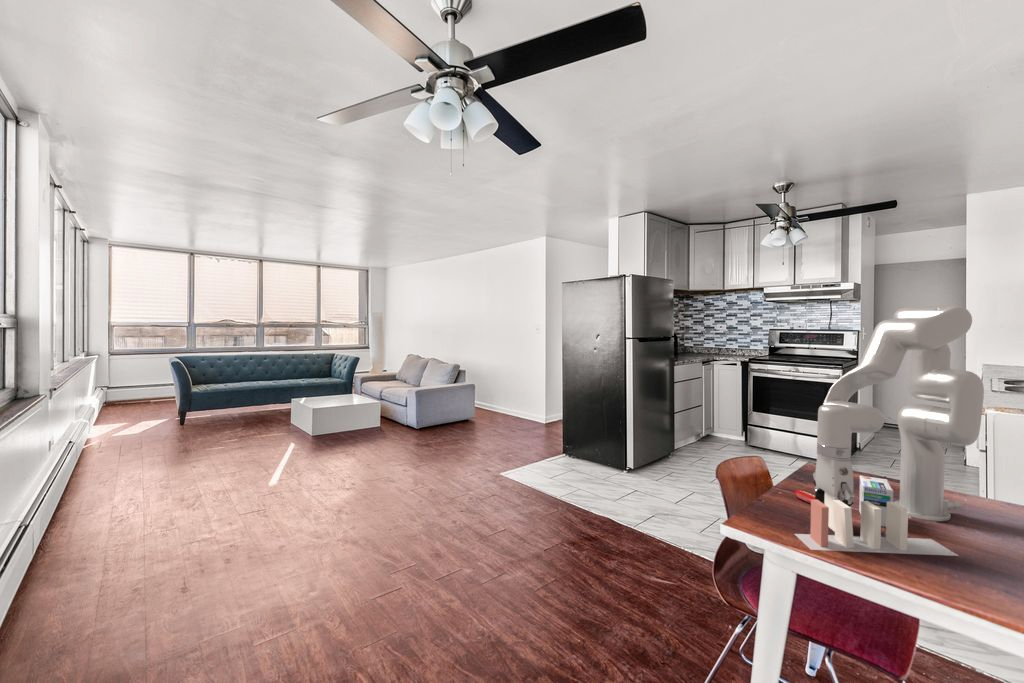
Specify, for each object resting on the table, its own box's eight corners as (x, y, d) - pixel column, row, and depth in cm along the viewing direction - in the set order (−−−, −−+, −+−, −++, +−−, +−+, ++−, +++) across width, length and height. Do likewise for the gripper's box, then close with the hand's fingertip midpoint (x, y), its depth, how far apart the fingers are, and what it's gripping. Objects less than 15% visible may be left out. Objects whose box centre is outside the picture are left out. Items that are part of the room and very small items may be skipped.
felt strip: (931, 540, 118) (931, 538, 118) (959, 557, 109) (959, 555, 109) (793, 535, 122) (793, 533, 122) (810, 551, 113) (810, 549, 113)
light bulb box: (893, 530, 124) (894, 490, 123) (862, 524, 127) (863, 486, 127) (887, 515, 133) (888, 478, 132) (858, 510, 137) (858, 474, 136)
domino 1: (816, 537, 119) (817, 499, 119) (827, 547, 114) (828, 507, 114) (810, 537, 119) (811, 499, 119) (821, 546, 115) (821, 507, 114)
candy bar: (847, 517, 133) (848, 506, 133) (837, 518, 132) (838, 508, 132) (800, 496, 148) (800, 487, 148) (791, 497, 147) (791, 488, 147)
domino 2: (830, 524, 127) (830, 489, 127) (840, 533, 122) (841, 496, 122) (823, 524, 128) (824, 489, 127) (834, 533, 123) (835, 496, 122)
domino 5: (892, 540, 117) (893, 501, 117) (907, 550, 112) (908, 509, 112) (885, 540, 117) (886, 501, 117) (899, 549, 112) (901, 509, 112)
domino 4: (867, 539, 118) (868, 501, 117) (880, 549, 113) (881, 509, 112) (860, 539, 118) (861, 500, 118) (873, 548, 113) (874, 508, 113)
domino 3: (841, 537, 119) (839, 499, 118) (853, 547, 114) (851, 507, 113) (835, 538, 119) (832, 500, 118) (846, 547, 114) (844, 508, 113)
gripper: (869, 461, 115) (867, 529, 116) (830, 443, 132) (828, 502, 133) (837, 460, 116) (835, 527, 116) (802, 442, 133) (800, 500, 134)
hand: (831, 513), depth 125 cm, fingers open, 9 cm apart
